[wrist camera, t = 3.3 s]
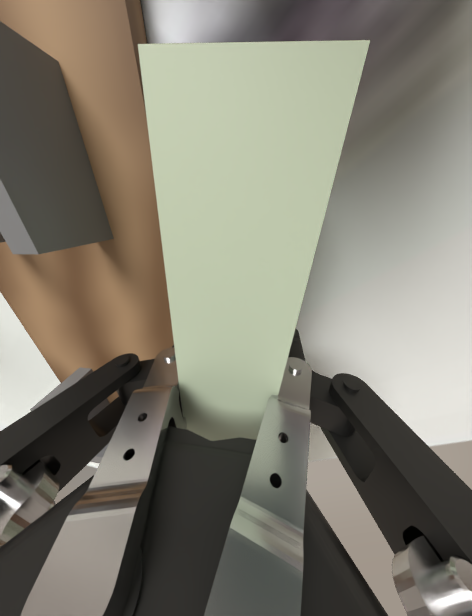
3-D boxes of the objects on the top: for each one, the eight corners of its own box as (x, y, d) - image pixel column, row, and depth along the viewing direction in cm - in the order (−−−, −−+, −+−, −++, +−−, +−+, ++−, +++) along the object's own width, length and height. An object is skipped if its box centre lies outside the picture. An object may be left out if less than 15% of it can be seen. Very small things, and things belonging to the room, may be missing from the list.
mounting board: (131, -52, 7) (106, -100, 6) (209, 432, 21) (206, 444, 20) (-143, 18, 9) (-198, -7, 8) (97, 415, 23) (89, 425, 22)
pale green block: (299, 156, 9) (370, 40, 3) (255, 402, 17) (248, 508, 11) (225, 152, 9) (137, 44, 3) (218, 396, 18) (192, 495, 12)
